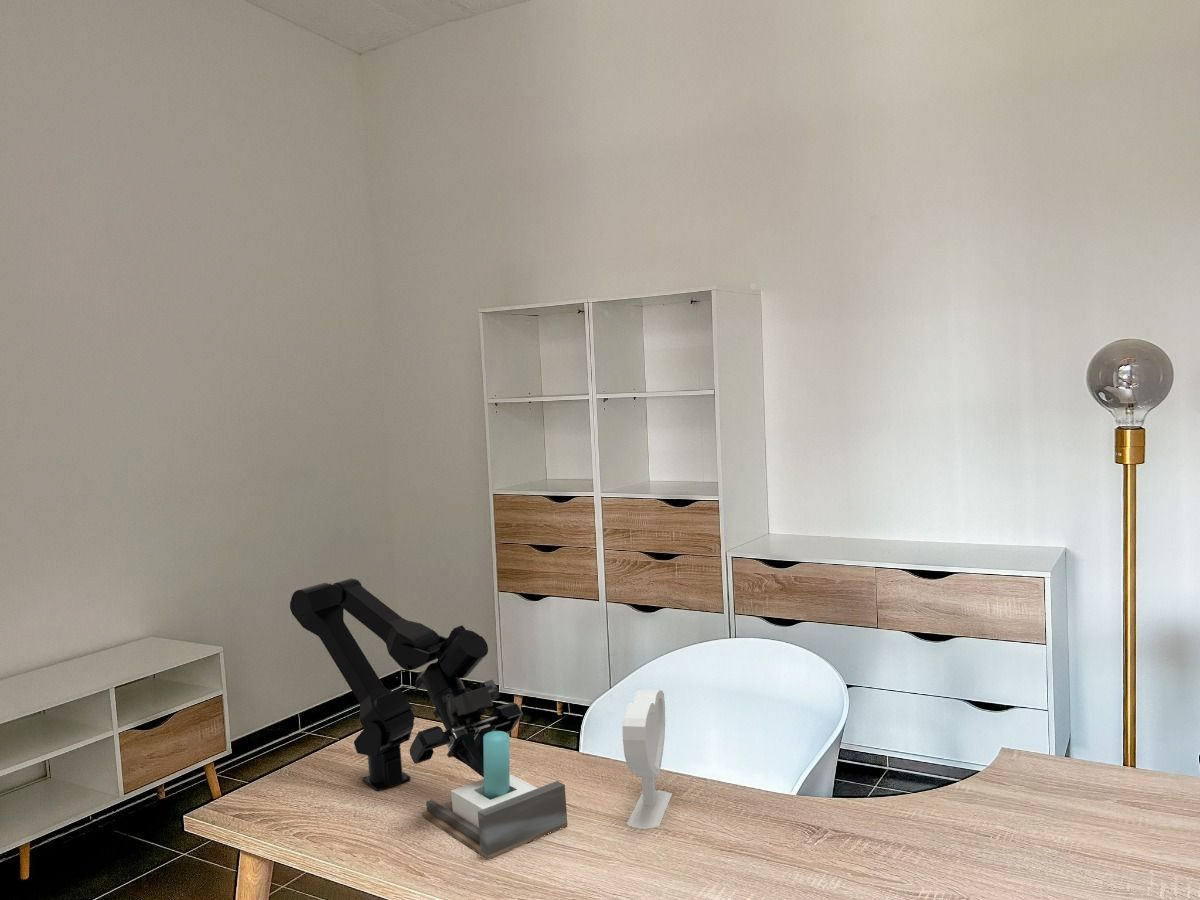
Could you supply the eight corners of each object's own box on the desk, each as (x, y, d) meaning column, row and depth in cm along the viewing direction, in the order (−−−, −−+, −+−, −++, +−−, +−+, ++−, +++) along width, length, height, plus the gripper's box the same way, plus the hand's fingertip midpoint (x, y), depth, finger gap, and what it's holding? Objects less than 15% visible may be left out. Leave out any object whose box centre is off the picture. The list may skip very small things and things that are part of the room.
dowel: (478, 816, 150) (478, 738, 147) (495, 804, 153) (494, 728, 151) (498, 824, 148) (498, 745, 145) (514, 812, 151) (514, 735, 149)
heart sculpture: (656, 832, 144) (649, 716, 143) (623, 830, 145) (616, 715, 144) (674, 788, 159) (668, 682, 158) (644, 787, 160) (638, 681, 159)
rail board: (422, 815, 155) (418, 776, 154) (497, 787, 164) (494, 750, 163) (488, 859, 139) (485, 815, 139) (567, 826, 148) (564, 784, 148)
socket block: (453, 820, 151) (451, 790, 151) (506, 799, 157) (504, 771, 157) (487, 841, 143) (484, 810, 143) (541, 819, 150) (539, 789, 149)
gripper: (411, 682, 148) (453, 771, 141) (512, 654, 160) (556, 734, 152) (392, 720, 155) (431, 807, 147) (490, 690, 167) (531, 769, 159)
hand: (489, 778), depth 151 cm, fingers closed, pressing on dowel
